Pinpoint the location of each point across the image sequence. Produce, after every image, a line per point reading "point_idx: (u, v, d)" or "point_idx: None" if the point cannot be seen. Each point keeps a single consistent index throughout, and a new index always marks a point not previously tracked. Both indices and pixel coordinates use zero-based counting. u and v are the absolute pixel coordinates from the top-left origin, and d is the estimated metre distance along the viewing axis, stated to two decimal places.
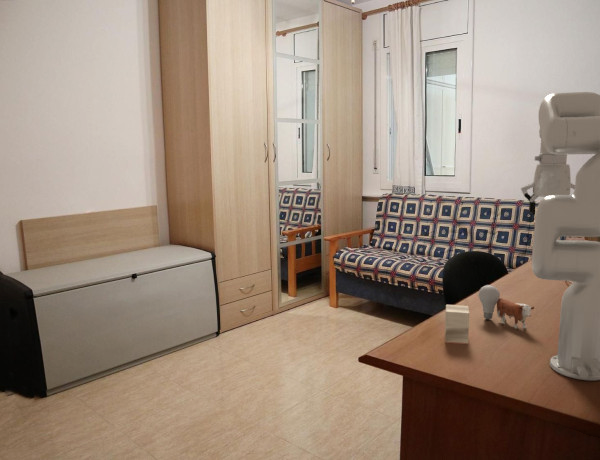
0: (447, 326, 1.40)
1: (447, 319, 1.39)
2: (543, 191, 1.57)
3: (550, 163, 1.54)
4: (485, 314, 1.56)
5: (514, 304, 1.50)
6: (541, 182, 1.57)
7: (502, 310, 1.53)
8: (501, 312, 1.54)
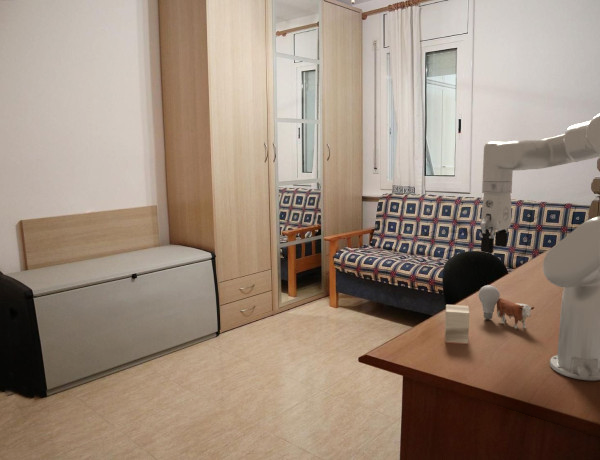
0: (447, 326, 1.40)
1: (447, 319, 1.39)
2: (501, 224, 1.36)
3: (507, 192, 1.35)
4: (485, 314, 1.56)
5: (514, 304, 1.50)
6: (500, 214, 1.35)
7: (502, 310, 1.53)
8: (501, 312, 1.54)
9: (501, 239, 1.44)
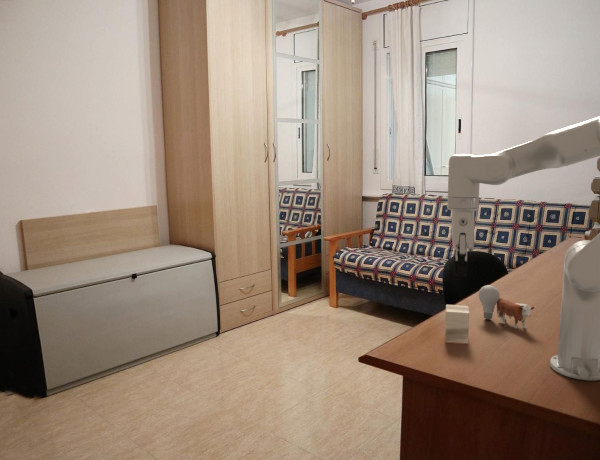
0: (447, 326, 1.40)
1: (447, 319, 1.39)
2: None
3: (477, 208, 1.26)
4: (485, 314, 1.56)
5: (514, 304, 1.50)
6: None
7: (502, 310, 1.53)
8: (501, 312, 1.54)
9: None
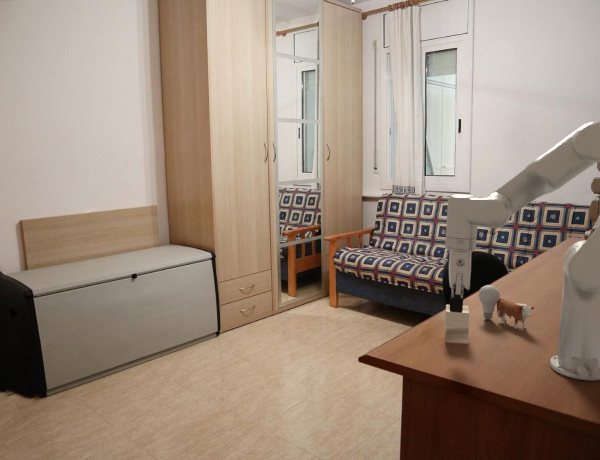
0: (447, 326, 1.40)
1: (447, 319, 1.39)
2: None
3: (474, 248, 1.28)
4: (485, 314, 1.56)
5: (514, 304, 1.50)
6: (470, 273, 1.27)
7: (502, 310, 1.53)
8: (501, 312, 1.54)
9: None
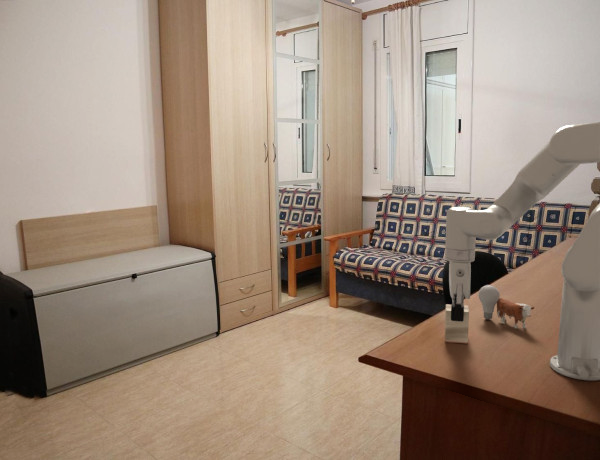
0: (447, 325, 1.40)
1: (447, 318, 1.40)
2: None
3: (473, 259, 1.32)
4: (485, 314, 1.56)
5: (514, 304, 1.50)
6: None
7: (502, 310, 1.53)
8: (501, 312, 1.54)
9: None
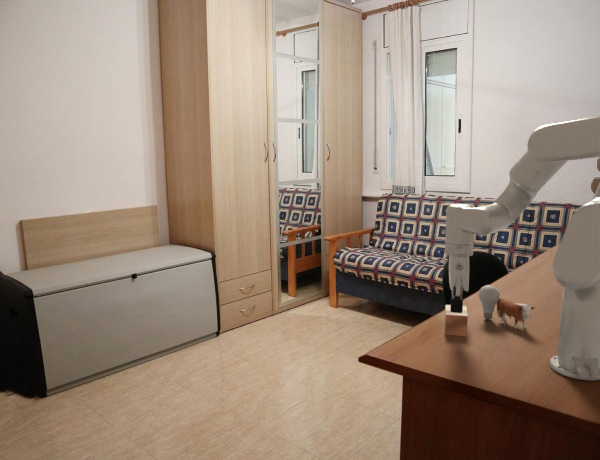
0: (447, 309, 1.50)
1: (446, 307, 1.52)
2: None
3: (472, 253, 1.39)
4: (485, 314, 1.56)
5: (514, 304, 1.50)
6: None
7: (502, 310, 1.53)
8: (501, 312, 1.54)
9: None
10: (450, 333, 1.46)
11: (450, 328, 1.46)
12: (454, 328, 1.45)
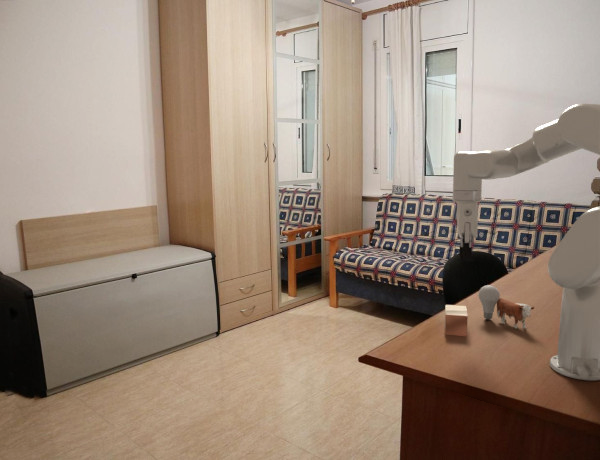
0: (447, 309, 1.50)
1: (446, 307, 1.52)
2: None
3: (480, 200, 1.39)
4: (485, 314, 1.56)
5: (514, 304, 1.50)
6: (477, 222, 1.38)
7: (502, 310, 1.53)
8: (501, 312, 1.54)
9: None
10: (450, 333, 1.46)
11: (450, 328, 1.46)
12: (454, 328, 1.45)
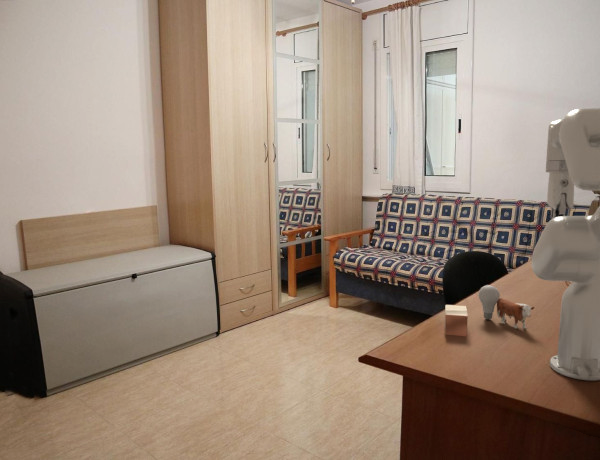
0: (447, 309, 1.50)
1: (446, 307, 1.52)
2: None
3: None
4: (485, 314, 1.56)
5: (514, 304, 1.50)
6: None
7: (502, 310, 1.53)
8: (501, 312, 1.54)
9: None
10: (450, 333, 1.46)
11: (450, 328, 1.46)
12: (454, 328, 1.45)
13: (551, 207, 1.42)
